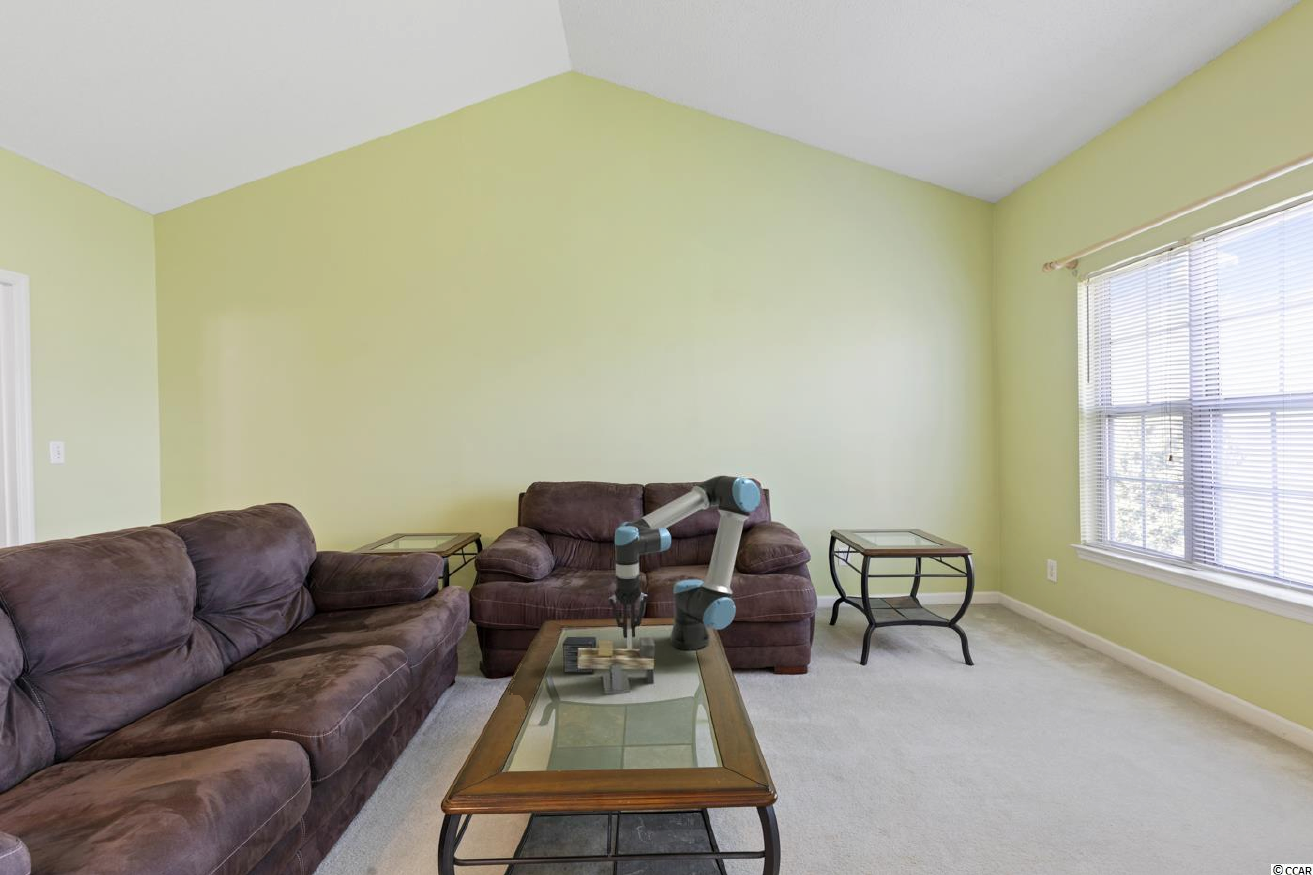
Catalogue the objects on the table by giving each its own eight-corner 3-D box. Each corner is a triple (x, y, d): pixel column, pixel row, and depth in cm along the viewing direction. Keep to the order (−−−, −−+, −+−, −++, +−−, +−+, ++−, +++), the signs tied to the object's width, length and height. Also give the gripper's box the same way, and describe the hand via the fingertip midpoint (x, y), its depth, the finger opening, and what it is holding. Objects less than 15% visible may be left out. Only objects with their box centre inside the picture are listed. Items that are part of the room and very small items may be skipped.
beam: (649, 657, 184) (651, 636, 184) (653, 670, 175) (655, 647, 175) (577, 656, 181) (579, 634, 180) (577, 669, 171) (579, 646, 171)
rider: (610, 656, 180) (611, 641, 180) (611, 662, 175) (613, 647, 175) (596, 656, 179) (598, 640, 179) (597, 662, 175) (598, 646, 175)
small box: (597, 665, 192) (596, 635, 191) (593, 674, 185) (592, 644, 185) (568, 665, 193) (566, 635, 192) (563, 673, 186) (561, 643, 186)
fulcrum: (649, 670, 186) (648, 644, 186) (655, 689, 174) (654, 661, 174) (602, 676, 184) (601, 649, 183) (604, 694, 172) (603, 666, 171)
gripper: (645, 570, 182) (647, 640, 183) (606, 573, 180) (608, 644, 181) (649, 577, 175) (651, 650, 176) (608, 580, 173) (610, 653, 174)
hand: (629, 647), depth 178 cm, fingers closed
